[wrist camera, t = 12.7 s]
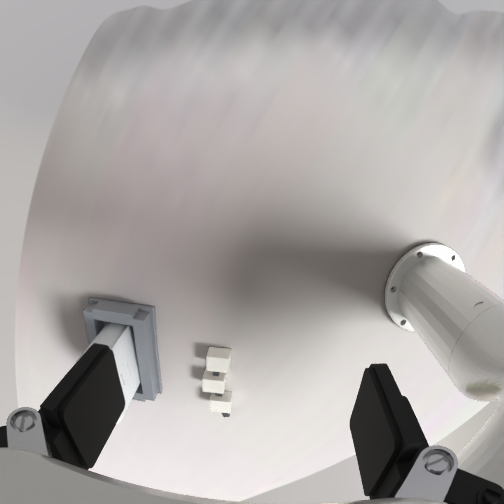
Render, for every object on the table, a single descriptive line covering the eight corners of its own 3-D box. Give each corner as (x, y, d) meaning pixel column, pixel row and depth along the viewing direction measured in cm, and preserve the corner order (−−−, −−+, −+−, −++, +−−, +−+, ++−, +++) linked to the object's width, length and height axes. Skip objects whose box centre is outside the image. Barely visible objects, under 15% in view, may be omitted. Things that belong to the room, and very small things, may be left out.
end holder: (154, 305, 41) (146, 317, 38) (162, 390, 45) (157, 404, 42) (90, 296, 41) (79, 306, 38) (106, 379, 45) (98, 391, 42)
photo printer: (147, 378, 43) (119, 436, 32) (122, 375, 44) (90, 430, 32) (132, 319, 41) (93, 373, 29) (106, 318, 41) (62, 367, 29)
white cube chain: (234, 349, 42) (232, 359, 40) (231, 412, 46) (229, 422, 43) (204, 346, 42) (201, 356, 40) (205, 409, 46) (203, 419, 43)
